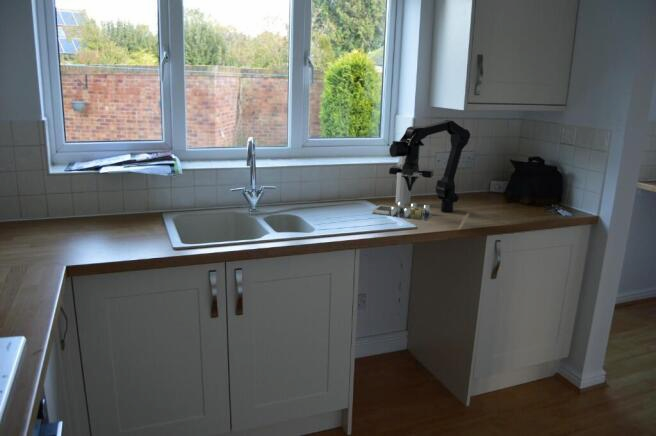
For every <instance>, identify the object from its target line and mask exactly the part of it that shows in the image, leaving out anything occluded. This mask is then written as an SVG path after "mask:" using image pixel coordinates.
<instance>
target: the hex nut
mask: <svg viewBox="0 0 656 436" xmlns="http://www.w3.org/2000/svg"><path fill="white" fill-rule="evenodd" d="M410 208H411V207H410ZM423 209H424V208H419V207H417V208H411V214H410V216H413V217H421V216H422V213H423Z"/></svg>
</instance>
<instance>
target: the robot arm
mask: <svg viewBox="0 0 656 436" xmlns="http://www.w3.org/2000/svg"><path fill="white" fill-rule="evenodd" d="M445 131H446V133H447V134H449V136H450V138H449V139H450V140H449V142H450V145H451V147H450V151H449V155H448V159H447V162H446V166H445V170H444V174H443V176H442V178H441V179H438V180H437V181H436V186H434V188H435V193H436V195H437V198H438V199H440V200H441V201H440V202H441V203H440V212H441V213H444V214H450V213H453V212H454V205H455V204H454V203H457V202H458V200H459V195H458V194H457V193H456V192H455V191H456V185H455V184H456V183H455V177H456V173H457V170H458V166H459V163H460V159H461V155H462V152H463V149H464V148H465V147H466V146H467V145H468V144H469V142H470V141H469V140H470V138H471V133H470V131H469V130H468V129H466V128H464V127H462V126H461V125H459V124H457V123H456V122H455V121H454V120H451V119H444V120H443V121H439V122H435V123H431V124H426V125H423V126H422V125H420V126H419V125H418V126H417V125H415V126H408V127H406V130H405V132H404V133H403V135H402V136H401V138H400V139H399V140H393V141H392V144H391V145H389V146H390V147H389V151H388V152H389V154H390V157H392V158H399V157H404V156H406V159H405V163H404V165H403V167H402V169H401V167H398V165H393V166H391V167H389V170H388V175H389V174H390V175H397V173H402V177H404V178H405V180H406V183H407V186H408V190H409V191H411V192H412V190H413V188H414V185H415V183H416V181H417V179H419V178H420V177H421V176H422V177H423V178H428V179H431V178H433V177H434V170H433V169H429V168H424V169H423V170H420V164H419V160H420V149H421V148H420V147H424V146H425V143H423V141H422V140H424V139H426V138H427V137H428V136H430V135H434V134H438V133H443V132H445ZM411 176H412V177H411Z"/></svg>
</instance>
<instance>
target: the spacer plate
mask: <svg viewBox="0 0 656 436" xmlns="http://www.w3.org/2000/svg"><path fill="white" fill-rule="evenodd" d="M404 207H405V205H404V202H398V204H397V206H395V205H393V206H391V205H382V204H378V205H377V206H376V207H374V208H373V209H372V211H371V215H378V216H385V217H386V216H387V217H393V218H401V219H409V220H416V221H417V220H418V221H425V222H426V221H428V220H429V218H431V216H432V215H433V213H430V210H431V209H430V208H431V204H423V208H422V209H423V212H422V216H421V217H413V216H410V214H411V208H418V204H417V203H415V202H412V203H411V202H410V207H405V208H404Z"/></svg>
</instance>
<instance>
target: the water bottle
mask: <svg viewBox="0 0 656 436" xmlns="http://www.w3.org/2000/svg"><path fill="white" fill-rule="evenodd" d="M405 159H406V156H404V157H398V162H397V164H396V166H398V167H401V169H402V167H403V165H404V163H405ZM412 176H413V175H412ZM412 176H411V177H412ZM411 196H412V190H411V191H409V190H408V186H407V183H406V180H405V178H404V177H402V173H397V174H396V190H395V204H397V205H398V202H404V206H406V205H408V206H409V205H411V198H412V197H411Z"/></svg>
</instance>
